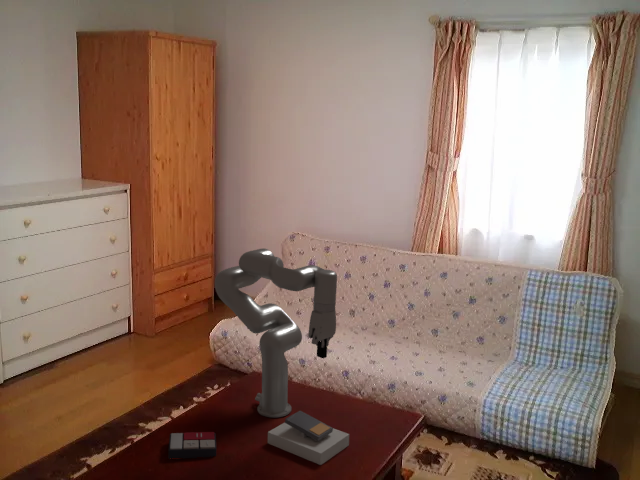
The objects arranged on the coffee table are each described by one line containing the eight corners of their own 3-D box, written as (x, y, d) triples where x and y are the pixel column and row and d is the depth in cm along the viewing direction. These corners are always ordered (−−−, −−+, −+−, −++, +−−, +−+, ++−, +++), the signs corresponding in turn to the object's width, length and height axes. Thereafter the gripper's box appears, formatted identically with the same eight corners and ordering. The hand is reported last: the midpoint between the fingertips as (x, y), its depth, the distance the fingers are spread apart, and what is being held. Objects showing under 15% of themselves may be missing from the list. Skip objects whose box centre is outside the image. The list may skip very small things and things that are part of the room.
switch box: (267, 443, 212) (267, 427, 211) (297, 425, 225) (297, 411, 224) (320, 465, 199) (321, 449, 198) (348, 445, 212) (349, 430, 211)
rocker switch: (284, 422, 212) (285, 418, 211) (299, 414, 218) (300, 409, 217) (318, 441, 204) (318, 436, 203) (332, 431, 210) (333, 427, 210)
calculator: (216, 446, 202) (168, 448, 199) (216, 459, 203) (168, 460, 200) (215, 430, 213) (169, 431, 210) (215, 442, 214) (169, 443, 211)
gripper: (329, 299, 224) (326, 348, 228) (301, 308, 212) (299, 359, 216) (346, 304, 219) (343, 354, 223) (319, 313, 208) (316, 366, 211)
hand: (321, 356), depth 219 cm, fingers closed
